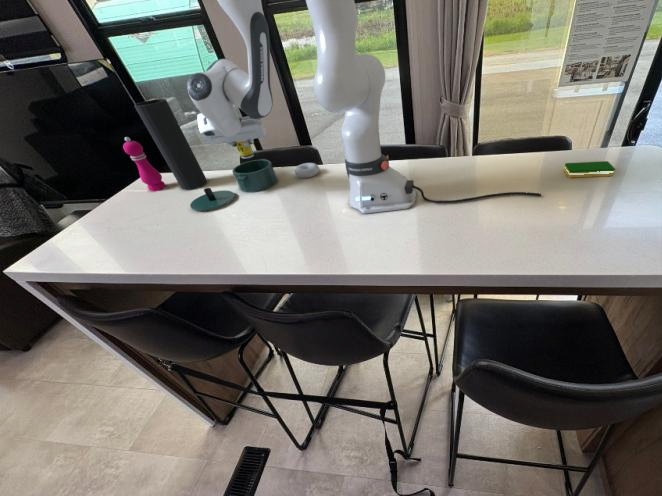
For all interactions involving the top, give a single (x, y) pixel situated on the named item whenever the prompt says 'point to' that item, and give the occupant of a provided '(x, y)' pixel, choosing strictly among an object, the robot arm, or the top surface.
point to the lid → (212, 200)
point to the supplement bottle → (244, 149)
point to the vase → (171, 142)
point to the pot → (255, 175)
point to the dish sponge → (588, 168)
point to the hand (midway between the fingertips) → (243, 143)
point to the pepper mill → (144, 165)
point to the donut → (306, 170)
